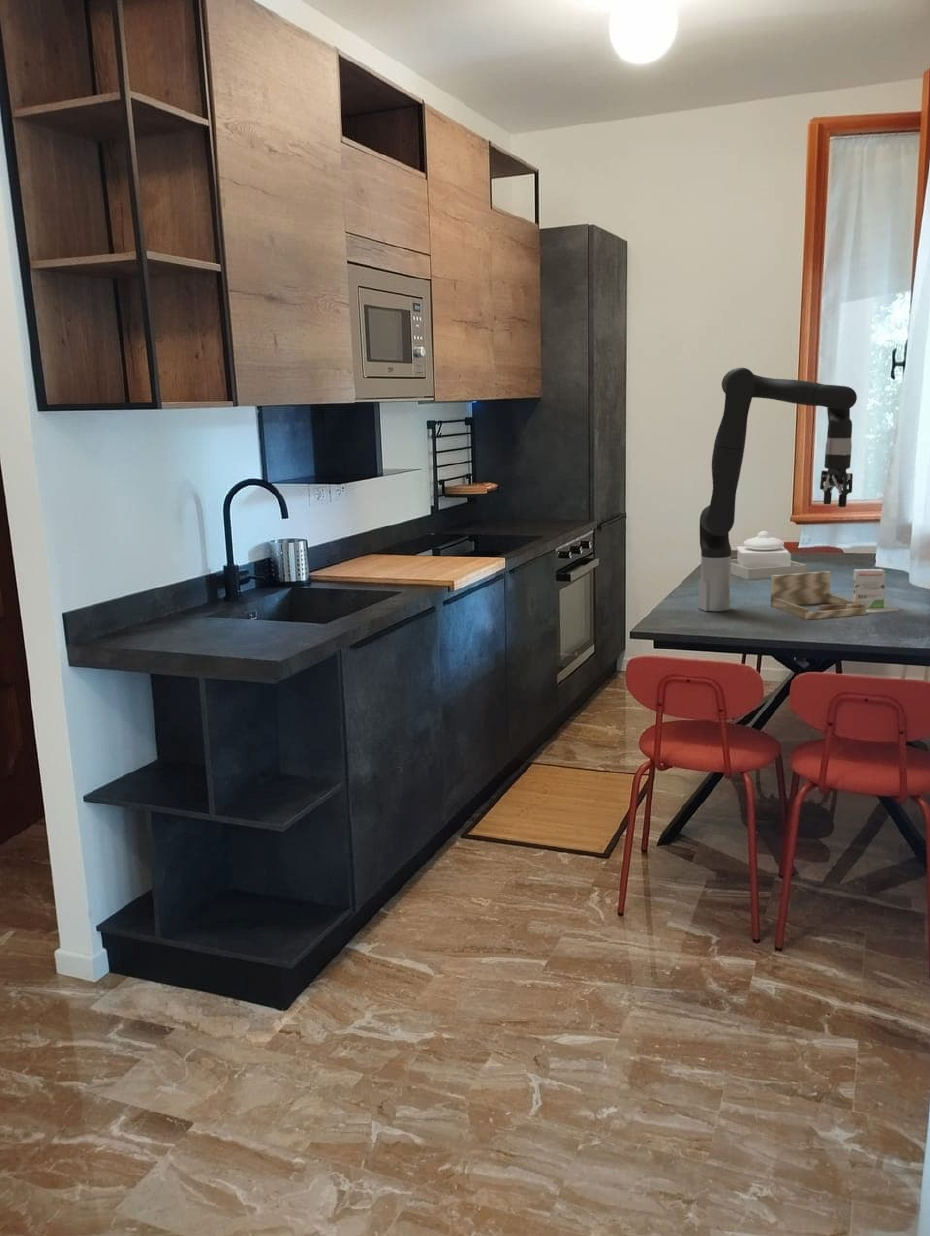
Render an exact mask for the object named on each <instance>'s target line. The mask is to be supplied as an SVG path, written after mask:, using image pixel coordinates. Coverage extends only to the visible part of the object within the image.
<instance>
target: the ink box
mask: <svg viewBox="0 0 930 1236" xmlns="http://www.w3.org/2000/svg"><path fill="white" fill-rule="evenodd" d="M852 579H853V584H852V600H853V601H856V602H859V603H862V604H865V608H884V605H885V588H886V587H885V585H886V571H885V569H882V568H861V569H860V568H854V569H853V578H852Z"/></svg>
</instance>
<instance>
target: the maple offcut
mask: <svg viewBox="0 0 930 1236" xmlns="http://www.w3.org/2000/svg"><path fill="white" fill-rule="evenodd" d="M852 608H859V605H858V604H856V603H854V604H846V609H852Z"/></svg>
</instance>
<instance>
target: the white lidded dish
mask: <svg viewBox="0 0 930 1236" xmlns="http://www.w3.org/2000/svg"><path fill="white" fill-rule="evenodd" d="M735 549H736V550H737V554H736V555H737V558H736V559H738V561H737V564H738V565H741V566H744V567H747V568H763V567H777V566H791V561H792V554H791V553H790V551H789V550H788V549H787V548H785V543H784V541H783V540H782V539H780V538H777V537H773V536H771V535H770V532H768V531H766V530H762V531H759V532H758V533H757V536H755V537H751V538H748V539H746V540H744V541H743V546H741V545H740V546H739V545H737V546H735Z"/></svg>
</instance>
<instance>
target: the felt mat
mask: <svg viewBox="0 0 930 1236" xmlns="http://www.w3.org/2000/svg"><path fill="white" fill-rule="evenodd" d="M899 611H900V609H899V608H895V607H891V606H889V605H886V604H884V608H866V615H867V614H877V613H878V614H880V613H887V612H888V613H890V612H899Z"/></svg>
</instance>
